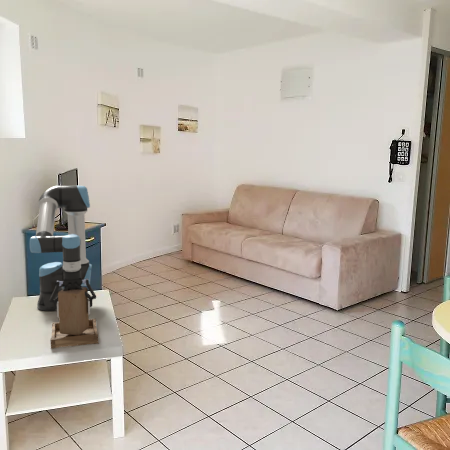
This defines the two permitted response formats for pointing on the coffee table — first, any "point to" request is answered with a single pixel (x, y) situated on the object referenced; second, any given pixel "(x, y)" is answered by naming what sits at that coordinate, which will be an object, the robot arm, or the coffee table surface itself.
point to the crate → (74, 336)
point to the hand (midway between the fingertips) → (73, 314)
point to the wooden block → (73, 311)
